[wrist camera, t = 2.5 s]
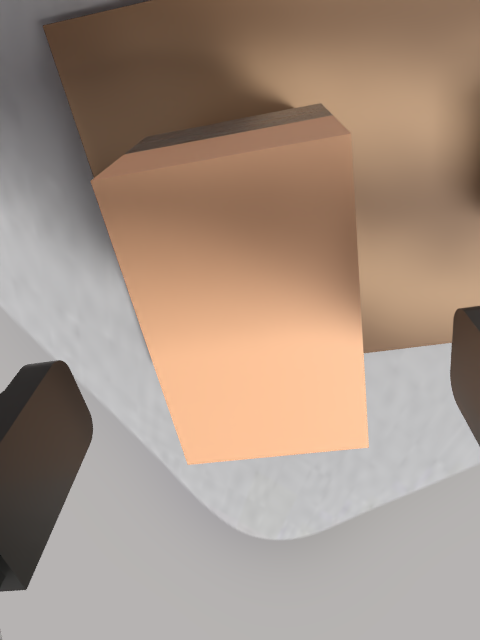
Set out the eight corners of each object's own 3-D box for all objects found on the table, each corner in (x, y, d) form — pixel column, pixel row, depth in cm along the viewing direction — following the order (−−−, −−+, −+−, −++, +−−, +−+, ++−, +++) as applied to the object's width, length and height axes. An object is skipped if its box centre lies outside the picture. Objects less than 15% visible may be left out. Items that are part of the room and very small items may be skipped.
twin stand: (54, 26, 16) (-22, 20, 12) (836, -155, 13) (1115, -251, 9) (165, 365, 24) (143, 436, 19) (679, 301, 21) (788, 368, 16)
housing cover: (123, 154, 11) (90, 181, 9) (332, 115, 10) (350, 133, 8) (198, 405, 15) (187, 464, 13) (352, 387, 14) (368, 447, 12)
